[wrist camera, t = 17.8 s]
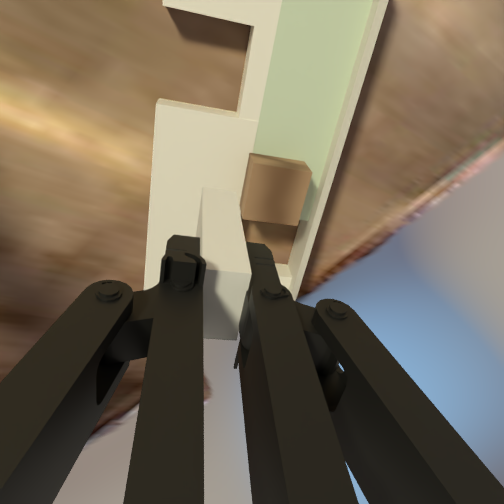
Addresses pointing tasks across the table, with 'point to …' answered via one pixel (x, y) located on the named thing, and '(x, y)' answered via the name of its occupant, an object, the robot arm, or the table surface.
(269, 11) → the tray
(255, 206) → the block
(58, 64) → the table surface
